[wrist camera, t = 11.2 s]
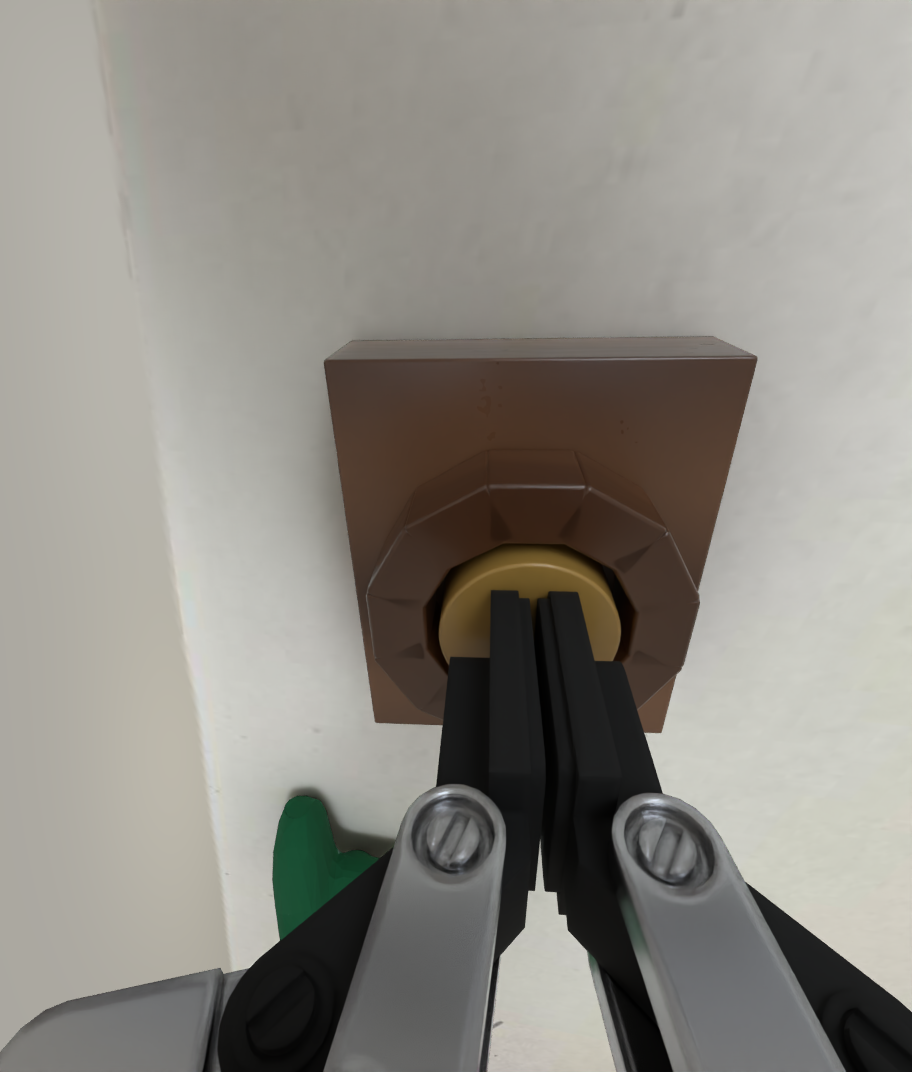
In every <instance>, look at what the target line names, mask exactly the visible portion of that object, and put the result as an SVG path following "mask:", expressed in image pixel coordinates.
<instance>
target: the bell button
mask: <svg viewBox="0 0 912 1072" xmlns="http://www.w3.org/2000/svg"><path fill="white" fill-rule="evenodd" d="M491 590H516V591H518V592H519V598H529V599H530V608H531V618H532V628H533V638H534V640H535V625H536V611H537V600H538V598H545V599H547V597H548V592H549V591H567V592H578V594H579V598H580V602H581V606H582V610H583V614H584V618H585V623H586V627H587V631H588V635H589V639H590V644H591V648H592V652H593V656H594V660H595V661H613V659H614V657H615V655H616V653H617V650H618V647H619V643H620V637H621V624H620V619H619V615H618V611H617V608H616V605H615V602H614V599H613V596H612V593H611V590H610V587H609V584H608V581H607V578H606V575H605V572H604V569H603V566H602V564H601V563H599V562H597V561H595V560H593V559H591V558H590V557H588V556H586V555H584V554H582V553H580V552H578V551H576V550H574V549H573V548H571V547H569V546H567V545H565V544H506V543H504V544H501V545H499V546H497V547H495V548H493V549H491V550H489V551H487V552H485V553H482V554H480V555H478V556H476V557H474V558H472V559H470V560H468V561H466V562H463V563H461V564H459V565H457V566H455V567H453V568H451V569H450V571H449V572H448V574H447V575H446V580H445V586H444V593H443V601H442V608H441V615H440V622H439V643H440V647H441V650H442V653H443V655H444V657H445V659H446V661H447V663H448V665H449V662H450V657H481V658H490V608H491Z"/></svg>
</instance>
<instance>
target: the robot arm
mask: <svg viewBox="0 0 912 1072" xmlns="http://www.w3.org/2000/svg"><path fill="white" fill-rule="evenodd" d="M540 842H541V855H542V868H543V880H544V889H545V891H546V892H557V901H558V911H559V915H566V917H567V926H568V931H569V932H570V933H571V934H572V935H573V936H574V937H575V938H576V939H577V940H578V941H579V942H580V944H581V945H582V946H583V947H584V948H585V949H586V950H587V953H588V961H589V966H590V970H591V974H592V978H593V982H594V986H595V990H596V994H597V998H598V1002H599V1005H600V1009H601V1013H602V1017H603V1021H604V1025H605V1029H606V1033H607V1037H608V1041H609V1045H610V1048H611V1052H612V1056H613V1060H614V1064H615V1068H616V1072H912V1012H911V1011H910V1010H909V1009H908V1008H906V1007H905V1006H904V1005H903V1004H902V1003H901V1002H900V1001H899V1000H897V999H896V998H895V997H893V996H892V995H891V994H890V993H888V992H887V991H886V990H884V989H883V988H882V987H881V986H879V985H878V984H877V983H875V982H874V981H873V980H871V979H870V978H869V977H868V976H866V975H865V974H864V973H862V972H861V971H860V970H859V969H857V968H856V967H855V966H853V965H852V964H851V963H850V962H848V961H847V960H846V959H844V958H843V957H842V956H840V955H839V954H838V953H837V952H835V951H834V950H833V949H831V948H830V947H829V946H828V945H826V944H825V943H824V942H822V941H821V940H820V939H819V938H817V937H816V936H815V935H813V934H812V933H811V932H809V931H808V930H807V929H806V928H804V927H803V926H802V925H800V924H799V923H798V922H797V921H795V920H794V919H793V918H791V917H790V916H789V915H788V914H786V913H785V912H784V911H782V910H781V909H780V908H778V907H777V906H776V905H775V904H773V903H772V902H771V901H769V900H768V899H767V898H766V897H764V896H763V895H762V894H760V893H759V892H758V891H757V890H755V889H754V888H753V887H751V886H750V885H749V884H747V883H746V882H745V881H744V879H743V877H742V875H741V874H740V872H739V870H738V868H737V866H736V864H735V862H734V860H733V859H732V857H731V855H730V853H729V851H728V849H727V847H726V845H725V843H724V842H723V840H722V838H721V836H720V835H719V833H718V832H717V831H716V829H715V828H714V826H713V825H712V823H711V822H710V821H709V820H708V819H707V818H706V817H705V816H704V815H702V814H701V813H700V812H699V811H698V810H697V809H696V808H694V807H693V806H691V805H689V804H687V803H686V802H684V801H682V800H681V799H678V798H675V797H672V796H669V795H666V794H663V793H662V790H661V786H660V783H659V780H658V776H657V773H656V770H655V767H654V763H653V760H652V757H651V753H650V750H649V747H648V744H647V740H646V737H645V734H644V730H643V727H642V724H641V721H640V717H639V714H638V711H637V708H636V704H635V701H634V698H633V694H632V691H631V688H630V685H629V681H628V678H627V675H626V671H625V669H624V666H623V664H622V663H621V662H620V661H595V660H594V656H593V652H592V648H591V644H590V639H589V635H588V631H587V627H586V623H585V618H584V614H583V610H582V606H581V602H580V598H579V594H578V592H567V591H549V592H548V597H547V599H545V598H538V600H537V611H536V625H535V640H534V638H533V628H532V618H531V608H530V599H529V598H519V592H518V591H516V590H491V608H490V658H481V657H450V662H449V670H448V679H447V689H446V698H445V708H444V717H443V727H442V736H441V746H440V755H439V765H438V774H437V784H436V787H435V788H432V789H430V790H429V791H427V792H425V793H424V794H422V795H420V796H419V797H418V798H417V799H416V800H415V801H414V802H413V803H412V805H411V806H410V807H409V808H408V810H407V812H406V814H405V816H404V818H403V820H402V823H401V826H400V829H399V832H398V835H397V839H396V842H395V845H394V847H393V848H392V849H390V850H389V851H388V852H387V853H386V854H384V855H383V856H382V857H381V858H380V859H378V860H377V861H376V862H375V863H374V864H372V865H371V866H370V867H369V868H368V869H366V870H365V871H364V872H363V873H361V874H360V875H359V876H358V877H357V878H355V879H354V880H353V881H352V882H351V883H349V884H348V885H347V886H346V887H345V888H343V889H342V890H341V891H340V892H339V893H337V894H336V895H335V896H334V897H333V898H331V899H330V900H329V901H328V902H326V903H325V904H324V905H323V906H322V907H320V908H319V909H318V910H317V911H316V912H314V913H313V914H312V915H311V916H310V917H308V918H307V919H306V920H305V921H304V922H302V923H301V924H300V925H299V926H298V927H296V928H295V929H294V930H293V931H291V932H290V933H289V934H288V935H287V936H285V937H284V938H283V939H282V940H281V941H279V942H278V943H277V944H276V945H275V946H273V947H272V948H271V949H270V950H269V951H267V952H266V953H265V954H264V955H263V956H261V957H260V958H259V959H258V960H257V961H256V962H255V963H254V964H253V965H252V966H251V967H250V968H248V969H244V970H239V971H235V972H231V973H226V974H223V972H222V970H221V968H217V969H213V970H208V971H204V972H199V973H194V974H189V975H185V976H180V977H176V978H171V979H167V980H162V981H158V982H153V983H148V984H143V985H139V986H134V987H129V988H125V989H121V990H116V991H111V992H106V993H102V994H97V995H93V996H88V997H83V998H79V999H74V1000H70V1001H66V1002H64V1003H61V1004H59V1005H56V1006H54V1007H52V1008H50V1009H47V1010H45V1011H43V1012H42V1013H41V1014H39V1015H38V1016H37V1017H35V1018H34V1019H33V1020H31V1021H30V1022H29V1023H27V1024H26V1025H25V1026H23V1027H22V1028H21V1029H20V1030H19V1031H18V1032H17V1033H16V1035H15V1036H14V1037H13V1038H12V1039H11V1040H10V1041H9V1043H8V1044H7V1045H6V1046H5V1047H4V1048H3V1049H2V1051H1V1052H0V1072H488V1063H489V1055H490V1046H491V1038H492V1029H493V1021H494V1012H495V1003H496V995H497V986H498V978H499V969H500V961H501V954H502V953H503V952H504V951H505V949H506V948H507V947H508V946H509V945H510V944H511V943H512V942H513V940H514V939H515V938H516V937H517V936H518V935H519V934H520V932H521V931H522V930H523V929H524V928H525V920H526V909H527V898H528V891H535V884H536V874H537V864H538V854H539V844H540Z"/></svg>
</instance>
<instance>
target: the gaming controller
mask: <svg viewBox="0 0 912 1072" xmlns="http://www.w3.org/2000/svg"><path fill="white" fill-rule="evenodd" d="M378 859H380V858H377V857H372V856H371V855H370V854H368V853H366V852H365V851H362V850H351V851H348V852H345V853H342V852H340V851H339V850H338V849H337V847H336V845H335V842H334V839H333V835H332V831H331V827H330V823H329V819H328V816H327V812H326V810H325V808H324V806H323V804H322V803H321V801H320V800H318V799H314V798H311V797H308V796H296V797H294V798H292V799H290V800H289V801H288V802H287V803H286V805H285V807H284V810H283V813H282V815H281V818H280V820H279V824H278V830H277V835H276V841H275V846H274V851H273V878H272V881H273V890H274V900H275V908H276V915H277V922H278V930H279V937H280V941H281V940H282V939H283V938H284V937H285V936H287V935H288V934H289V933H290V932H291V931H293V930H294V929H295V928H296V927H298V926H299V925H300V924H301V923H302V922H304V921H305V920H306V919H307V918H308V917H310V916H311V915H312V914H313V913H314V912H316V911H317V910H318V909H319V908H320V907H322V906H323V905H324V904H325V903H326V902H328V901H329V900H330V899H331V898H333V897H334V896H335V895H336V894H337V893H339V892H340V891H341V890H342V889H343V888H345V887H346V886H347V885H348V884H349V883H351V882H352V881H353V880H354V879H355V878H357V877H358V876H359V875H360V874H361V873H363V872H364V871H365V870H366V869H368V868H369V867H370V866H371V865H372V864H374V863H375V862H376V861H377V860H378Z"/></svg>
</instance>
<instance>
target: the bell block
mask: <svg viewBox="0 0 912 1072" xmlns="http://www.w3.org/2000/svg"><path fill="white" fill-rule="evenodd" d="M756 363H757V356H755V355H753V354H751V353H748V352H746V351H744V350H742V349H740V348H737V347H735V346H733V345H731V344H729V343H726V342H724V341H722V340H720V339H718V338H715V337H713V336H697V337H611V338H525V339H439V340H353V341H350V342H349V343H347V344H346V345H345V346H343V347H342V348H341V349H339V350H338V351H337V352H335V353H334V354H332V355H331V356H330V357H328V358H327V359H326V360H324V368H325V375H326V382H327V389H328V396H329V403H330V410H331V417H332V424H333V431H334V438H335V445H336V452H337V459H338V466H339V473H340V480H341V487H342V494H343V501H344V508H345V516H346V523H347V530H348V537H349V544H350V551H351V558H352V565H353V572H354V579H355V586H356V593H357V600H358V607H359V614H360V621H361V628H362V635H363V642H364V649H365V656H366V663H367V670H368V677H369V684H370V691H371V698H372V705H373V712H374V719H375V722H376V723H394V724H421V725H443V717H444V708H445V698H446V689H447V679H448V670H449V665H448V663H447V661H446V659H445V657H444V655H443V653H442V650H441V647H440V643H439V622H440V615H441V608H442V601H443V593H444V586H445V580H446V575H447V574H448V572H449V571H450V569H451V568H453V567H455V566H457V565H459V564H461V563H463V562H466V561H468V560H470V559H472V558H474V557H476V556H478V555H480V554H482V553H485V552H487V551H489V550H491V549H493V548H495V547H497V546H499V545H501V544H504V543H506V544H565V545H567V546H569V547H571V548H573V549H574V550H576V551H578V552H580V553H582V554H584V555H586V556H588V557H590V558H591V559H593V560H595V561H597V562H599V563H601V564H602V566H603V569H604V572H605V575H606V578H607V581H608V584H609V587H610V590H611V593H612V596H613V599H614V602H615V605H616V608H617V611H618V615H619V619H620V624H621V637H620V643H619V647H618V650H617V653H616V655H615V657H614V659H613V661H620V662H621V663H622V664H623V666H624V669H625V671H626V675H627V678H628V681H629V685H630V688H631V691H632V694H633V698H634V701H635V704H636V708H637V711H638V714H639V717H640V721H641V724H642V727H643V730H644V733H661V732H662V729H663V725H664V721H665V717H666V713H667V709H668V706H669V702H670V698H671V694H672V690H673V686H674V682H675V678H676V674H677V673H679V672H680V671H681V669H682V666H683V665H684V662H685V658H686V654H687V651H688V647H689V643H690V639H691V635H692V632H693V628H694V624H695V620H696V616H697V613H698V609H699V605H700V601H699V593H698V589H699V585H700V581H701V577H702V573H703V569H704V566H705V562H706V558H707V554H708V550H709V546H710V542H711V538H712V534H713V531H714V527H715V523H716V519H717V515H718V511H719V507H720V503H721V499H722V496H723V492H724V488H725V484H726V480H727V476H728V472H729V468H730V464H731V461H732V457H733V453H734V449H735V445H736V441H737V437H738V433H739V429H740V426H741V422H742V418H743V414H744V410H745V406H746V402H747V398H748V394H749V391H750V387H751V383H752V379H753V375H754V371H755V367H756Z"/></svg>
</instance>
